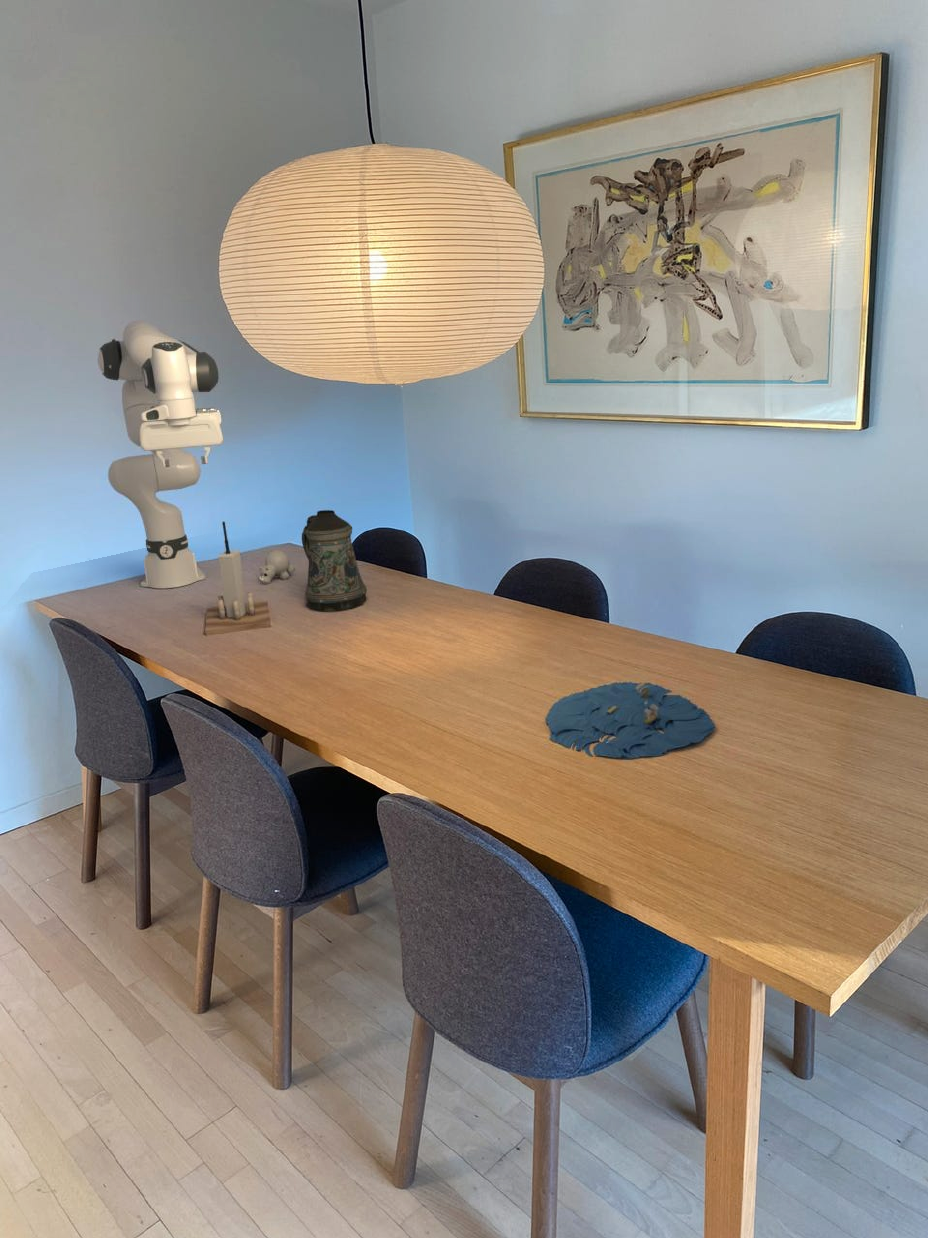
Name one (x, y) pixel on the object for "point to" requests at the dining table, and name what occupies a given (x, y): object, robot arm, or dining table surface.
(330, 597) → the beer stein
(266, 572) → the round bodied animal figurine
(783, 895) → the dining table surface
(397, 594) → the dining table surface
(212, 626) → the pin dock
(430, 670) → the dining table surface
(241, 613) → the vintage mobile phone
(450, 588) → the dining table surface
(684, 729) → the decorative plate
